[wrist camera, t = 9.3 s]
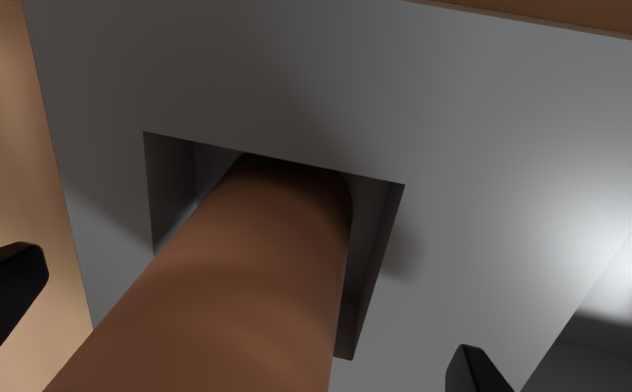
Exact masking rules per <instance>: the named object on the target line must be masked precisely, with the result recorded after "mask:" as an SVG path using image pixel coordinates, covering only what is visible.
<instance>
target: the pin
mask: <svg viewBox="0 0 632 392" xmlns="http://www.w3.org/2000/svg"><path fill="white" fill-rule="evenodd" d="M352 218H353V202H352V197H351V194H350V190H349V188H348V186H347V184H346V182H345V181H344V179H343V177H342V176H341V175H340V173H339V172H338V171H337V170H332V169H327V168H322V167H317V166H312V165H308V164H303V163H298V162H293V161H288V160H283V159H278V158H273V157H268V156H264V155H259V154H254V153H249V152H247V153H245V154H243V155H242V156H241V157H240V158H238V159H237V160H236V161H235V162H234V163H233V164H232V166H231V167H230V168H229V169H228V170H227V172H226V173H225V174H224V175H223V176H222V177H221V179H220V180H219V181H218V182H217V183H216V185H215V186H214V187H213V188H212V189H211V191H210V192H209V193H208V194H207V195H206V197H205V198H204V199H203V200H202V201H201V203H200V204H199V205H198V206H197V207H196V209H195V210H194V211H193V212H192V213H191V215H190V216H189V217H188V218H187V219H186V221H185V222H184V223H183V224H182V225H181V226H180V228H179V229H178V230H177V231H176V232H175V234H174V235H173V236H172V237H171V238H170V240H169V241H168V242H167V243H166V244H165V246H164V247H163V248H162V249H161V250H160V252H159V253H158V254H157V255H156V256H155V258H154V259H153V260H152V261H151V262H150V264H149V265H148V266H147V267H146V268H145V270H144V271H143V272H142V273H141V274H140V275H139V277H138V278H137V279H136V280H135V281H134V283H133V284H132V285H131V286H130V287H129V289H128V290H127V291H126V292H125V293H124V295H123V296H122V297H121V298H120V299H119V301H118V302H117V303H116V304H115V305H114V307H113V308H112V309H111V310H110V311H109V313H108V314H107V315H106V316H105V317H104V319H103V320H102V321H101V322H100V323H99V324H98V326H97V327H96V328H95V329H94V330H93V332H92V333H91V334H90V335H89V336H88V338H87V339H86V340H85V341H84V342H83V344H82V345H81V346H80V347H79V348H78V350H77V351H76V352H75V353H74V354H73V356H72V357H71V358H70V359H69V360H68V362H67V363H66V364H65V365H64V366H63V368H62V369H61V370H60V371H59V372H58V373H57V375H56V376H55V377H54V378H53V379H52V381H51V382H50V383H49V384H48V385H47V387H46V388H45V389H44V390H43V391H42V392H328V388H329V381H330V374H331V366H332V359H333V352H334V345H335V338H336V331H337V324H338V317H339V310H340V303H341V296H342V289H343V282H344V275H345V268H346V261H347V254H348V246H349V239H350V232H351V225H352Z"/></svg>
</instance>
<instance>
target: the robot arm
mask: <svg viewBox="0 0 632 392" xmlns="http://www.w3.org/2000/svg"><path fill="white" fill-rule="evenodd" d="M48 278H49V271H48V268H47V264H46V260H45V257H44V253H43V250H42V248H41V247H40V246H39V245H36V244H31V243H27V242H15V243H12V244H9V245H6V246H3V247H0V346H1V345H2V344H3V342H4V341H5V340H6V339H7V337H8V336H9V335H10V333H11V332H12V330H13V329H14V328H15V326H16V325H17V324H18V322H19V321H20V320H21V318H22V317H23V315H24V314H25V313H26V311H27V310H28V309H29V307H30V306H31V304H32V303H33V302H34V300H35V299H36V298H37V296H38V295H39V294H40V292H41V291H42V289H43V288H44V287H45V285H46V283H47V281H48ZM445 392H515V391H514V390H513V388H512V387H511V386H510V384H509V383H508V382H507V380H506V379H505V378H504V376H503V375H502V374H501V372H500V371H499V370H498V368H497V367H496V366H495V364H494V363H493V362H492V360H491V359H490V358H489V356H488V355H487V354H486V352H485V351H484V350H483V349H482V348H480V347H476V346H472V345H468V344H460V345H459V346H458V348H457V349H456V351H455V353H454V355H453V357H452V359H451V361H450V363H449V365H448V367H447V370H446V374H445Z"/></svg>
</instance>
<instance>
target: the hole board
mask: <svg viewBox="0 0 632 392" xmlns="http://www.w3.org/2000/svg"><path fill="white" fill-rule="evenodd" d="M22 5H23V9H24V14H25V19H26V23H27V28H28V32H29V37H30V42H31V46H32V51H33V55H34V60H35V65H36V69H37V74H38V78H39V83H40V87H41V92H42V97H43V101H44V106H45V110H46V115H47V120H48V124H49V129H50V133H51V138H52V143H53V147H54V152H55V156H56V161H57V166H58V170H59V175H60V179H61V184H62V188H63V193H64V198H65V202H66V207H67V211H68V216H69V221H70V225H71V230H72V234H73V239H74V244H75V248H76V253H77V257H78V262H79V267H80V271H81V276H82V280H83V285H84V289H85V294H86V299H87V303H88V308H89V312H90V317H91V322H92V326H93V330H94V329H95V328H96V327H97V326H98V324H99V323H100V322H101V321H102V320H103V319H104V317H105V316H106V315H107V314H108V313H109V311H110V310H111V309H112V308H113V307H114V305H115V304H116V303H117V302H118V301H119V299H120V298H121V297H122V296H123V295H124V293H125V292H126V291H127V290H128V289H129V287H130V286H131V285H132V284H133V283H134V281H135V280H136V279H137V278H138V277H139V275H140V274H141V273H142V272H143V271H144V270H145V268H146V267H147V266H148V265H149V264H150V262H151V261H152V260H153V259H154V258H155V256H156V255H157V254H158V253H159V252H160V250H161V249H162V248H163V247H164V246H165V244H166V243H167V242H168V241H169V240H170V238H171V237H172V236H173V235H174V234H175V232H176V231H177V230H178V229H179V228H180V226H181V225H182V224H183V223H184V222H185V221H186V219H187V218H188V217H189V216H190V215H191V213H192V212H193V211H194V210H195V209H196V207H197V206H198V205H199V204H200V203H201V201H202V200H203V199H204V198H205V197H206V195H207V194H208V193H209V192H210V191H211V189H212V188H213V187H214V186H215V185H216V183H217V182H218V181H219V180H220V179H221V177H222V176H223V175H224V174H225V173H226V172H227V170H228V169H229V168H230V167H231V166H232V164H233V163H234V162H235V161H236V160H237V159H238V158H240V157H241V156H242V155H243V154H245V153H247V152H249V153H254V154H259V155H264V156H268V157H273V158H278V159H283V160H288V161H293V162H298V163H303V164H308V165H312V166H317V167H322V168H327V169H332V170H337V171H338V172H339V173H340V175H341V176H342V177H343V179H344V181H345V182H346V184H347V186H348V188H349V190H350V194H351V197H352V202H353V218H352V225H351V232H350V239H349V246H348V254H347V261H346V268H345V275H344V282H343V289H342V296H341V303H340V310H339V317H338V324H337V331H336V338H335V345H334V352H333V359H332V366H331V374H330V381H329V388H328V392H445V374H446V370H447V367H448V365H449V363H450V361H451V359H452V357H453V355H454V353H455V351H456V349H457V348H458V346H459V345H460V344H468V345H472V346H476V347H480V348H482V349H483V350H484V351H485V352H486V354H487V355H488V356H489V358H490V359H491V360H492V362H493V363H494V364H495V366H496V367H497V368H498V370H499V371H500V372H501V374H502V375H503V376H504V378H505V379H506V380H507V382H508V383H509V384H510V386H511V387H512V388H513V390H514V391H515V392H632V34H628V33H622V32H616V31H610V30H604V29H599V28H593V27H587V26H581V25H575V24H570V23H564V22H558V21H552V20H546V19H540V18H535V17H529V16H523V15H517V14H511V13H505V12H500V11H494V10H488V9H482V8H476V7H470V6H465V5H459V4H453V3H447V2H441V1H435V0H22Z"/></svg>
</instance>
